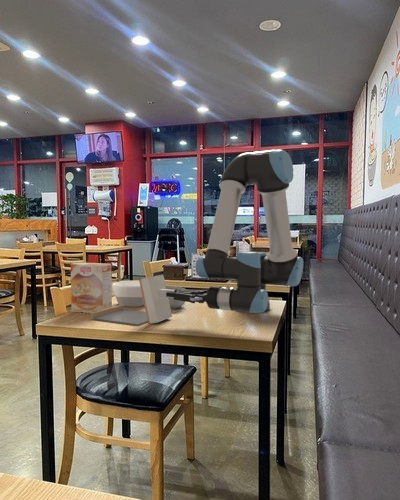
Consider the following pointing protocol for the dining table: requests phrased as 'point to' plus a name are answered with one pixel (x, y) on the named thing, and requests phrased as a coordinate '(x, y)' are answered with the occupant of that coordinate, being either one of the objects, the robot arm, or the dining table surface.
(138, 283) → the bowl
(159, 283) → the tile
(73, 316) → the dining table surface
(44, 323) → the dining table surface
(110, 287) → the coffeecake box
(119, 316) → the slate board
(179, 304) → the teacup
